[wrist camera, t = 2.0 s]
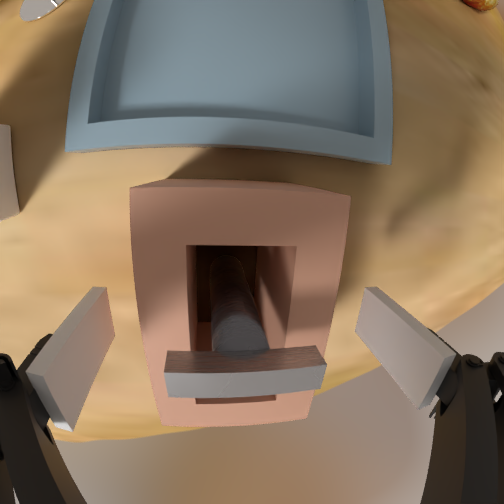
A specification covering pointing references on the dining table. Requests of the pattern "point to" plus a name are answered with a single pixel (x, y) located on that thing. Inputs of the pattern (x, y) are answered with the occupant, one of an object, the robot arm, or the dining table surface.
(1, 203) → the milk carton
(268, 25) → the tray
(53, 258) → the dining table surface
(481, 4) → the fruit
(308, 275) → the pink window frame
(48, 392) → the robot arm
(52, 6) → the wineglass
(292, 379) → the grey t-shaped piece
